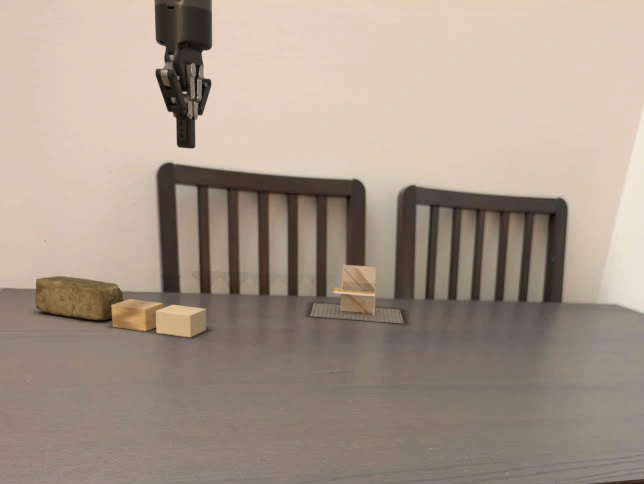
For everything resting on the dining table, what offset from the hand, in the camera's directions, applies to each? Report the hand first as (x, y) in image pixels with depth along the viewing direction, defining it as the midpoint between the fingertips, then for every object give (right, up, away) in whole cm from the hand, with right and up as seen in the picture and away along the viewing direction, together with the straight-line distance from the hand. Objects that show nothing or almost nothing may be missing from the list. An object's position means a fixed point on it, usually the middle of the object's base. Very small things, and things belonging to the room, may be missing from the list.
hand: (186, 147), depth 105 cm
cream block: (0, -27, -4) cm, 28 cm away
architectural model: (+24, -20, +17) cm, 36 cm away
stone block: (-15, -24, 0) cm, 29 cm away
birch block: (-6, -26, -3) cm, 27 cm away
